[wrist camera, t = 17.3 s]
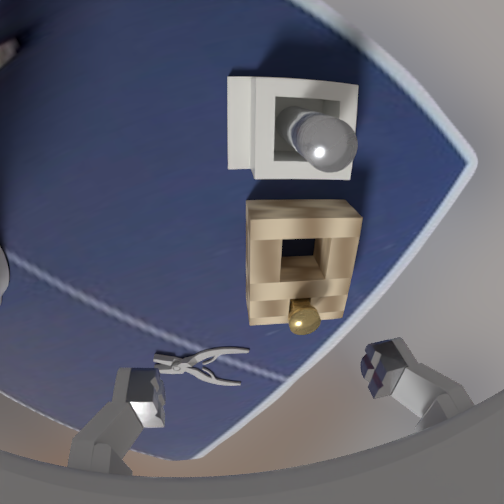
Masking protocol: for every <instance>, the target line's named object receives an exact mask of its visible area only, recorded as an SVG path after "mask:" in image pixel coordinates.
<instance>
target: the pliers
mask: <svg viewBox="0 0 504 504" xmlns="http://www.w3.org/2000/svg"><path fill="white" fill-rule="evenodd" d="M230 353H249V349H244V348H236V347H223V348H214V349H209V350H205V351H202V352H199V353H197V354H195V355H193V356H190V357H185V358H184V359H181V358H178V357H173V356H166V355H160V354H155V355H154V360H153V361H154V362H158V363H161V364H158V365H155V366H154V368H158V369H159V372H160V373H168V374H181V373H184V371H186V372H188V373H191V374H193V375H194V376H196V377H197V378H199V379H201V380H203V381H206V382H209V383H213V384H218V385H229V386H233V385H240V384H241V382H235V381H227V380H222V379H217V378H216V377H215V376H214V374H213V373H212V372H211V371H210V370H208V369H206V368H204V367H203V368H202V370H204V371H206V372H208V373H209V374H210V375H211V376H208V375H206V374H204V373H203V372H201V371H200V370H198V369H196V368H192V366H194V365H195V364H196V363H197V362H199V361H201V360H204V359H206V358H208V357H211V356H214V357H213V358H212V359H210V360H208V361H205V362H203V365H205V364H208V363H211V362H212V361H214V360H215V359H216V358H217V357H218V356H219V355H222V354H230Z"/></svg>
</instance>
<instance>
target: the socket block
mask: <svg viewBox="0 0 504 504" xmlns="http://www.w3.org/2000/svg"><path fill="white" fill-rule="evenodd" d="M362 219H363V218H362V217H361V215H360V214H359V213H358V212H357V211H356V210H355V209H354V208H353V207H352V206H351V205H350V204H349V203H348V202H347V201H346V200H337V199H291V200H246V301H247V309H248V316H249V324H250V325H265V324H280V323H289V322H288V316H289V313H290V309H289V304H290V299H299V298H308V299H309V302H310V305H311V306H313V307H315V308H316V309H317V311H318V314H319V316H320V319H321V320H326V319H336V318H342V317H343V313H344V308H345V304H346V300H347V296H348V291H349V287H350V282H351V277H352V273H353V268H354V263H355V258H356V253H357V248H358V242H359V237H360V231H361V225H362ZM308 238H315V245H314V253H313V255H312V256H290V257H281V254H282V239H308Z"/></svg>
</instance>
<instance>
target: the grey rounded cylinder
mask: <svg viewBox="0 0 504 504" xmlns="http://www.w3.org/2000/svg"><path fill="white" fill-rule="evenodd" d="M276 129H277V132H278V134H279V135H280V136H281V137H282V138H283V139H284V140H285V141H286V142H287V143H288V144H289V145H291V146H292V147H293V148H294V149H295V150H296V151H297V152H298V153H299V154H300V155H301V156H303V157H304V158H305V159H306V160H307V161H308V162H309V163H310V164H311V165H312V166H313V167H315V168H316V169H318V170H320V171H322V172H327V173H333V172H338V171H340V170H343V169H344V168H346V167H347V166H348V165H349V164H350V163H351V162H352V161H353V159H354V157H355V155H356V152H357V145H358V144H357V137H356V134H355V132H354V130H353V129H352V127H351V126H350V125H349V124H347V123H346V122H345V121H343V120H341V119H338V118H335V117H332V116H329V115H325V114H322V113H319V112H316V111H312V110H309V109H306V108H302V107H298V106H290V107H287V108H285V109H283V110H282V111H281V112H280V113H279V114H278V116H277V119H276Z"/></svg>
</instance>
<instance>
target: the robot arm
mask: <svg viewBox="0 0 504 504" xmlns="http://www.w3.org/2000/svg"><path fill="white" fill-rule="evenodd" d="M8 283H9V269H8V264H7V261H6V258H5V255H4V253H3V251H2V249H1V247H0V305H1V300H2V294H3V293H4V292H5V290H6V289H7V287H8ZM365 352H366V355H365V356H364V357H363V358H362V361H361V372H362V375H363V377H364V379H365V380H367V381H368V382H369V386H368V388H369V390H370V392H371V394H372V396H373V398H374V399H376V398H380V397H384V396H388V395H392V397H394V398H395V399H396V400H398V401H399V402H400V403H401V404H403V405H404V406H405V407H407V408H408V409H409V410H410V411H412V412H413V413H414V414H416V415H417V416H418V417H420V418H421V420H420V421H419V422H418V424H417V425H416V426H415V431H416V433H414V434H411V435H408V436H406V437H403V438H401V439H398V440H395V441H392V442H389V443H386V444H383V445H380V446H377V447H374V448H371V449H367V450H364V451H361V452H357V453H354V454H350V455H346V456H342V457H339V458H334V459H331V460H326V461H322V462H317V463H313V464H308V465H303V466H298V467H292V468H286V469H280V470H273V471H267V472H259V473H250V474H240V475H229V476H214V477H190V478H189V477H185V478H184V477H183V478H182V477H181V478H180V477H172V478H171V477H144V476H132V470H131V469H130V468H129V467H128V466H127V465H126V464H125V463H124V461H123V460H122V459H123V457H124V456H125V454H126V453H127V452H128V450H129V449H130V447H131V446H132V444H133V443H134V442H135V440H136V439H137V437H138V436H139V434H140V433H141V432H142V430H143V428H145V427H164V424H165V412H164V409H163V406H164V404H165V399H166V396H165V387H164V383H163V381H162V380H161V379H160V372H159V369H158V368H119V370H118V372H117V377H116V382H115V387H114V392H113V398H112V402H108V403H107V404H106V405H105V406H104V407H103V408H102V409H101V410H100V411H99V412H98V413H97V414H96V415H95V416H94V417H93V418H92V419H91V420H90V421H89V422H88V423H87V424H86V425H85V426H84V428H83V429H82V430H81V431H80V432H79V433H78V434H77V435H76V436H75V437H74V438H73V439H72V444H71V450H70V455H69V460H68V466H67V467H64V466H59V465H54V464H50V463H45V462H40V461H37V460H33V459H29V458H25V457H22V456H18V455H15V454H12V453H9V452H5V451H2V450H0V504H504V390H502V391H500V392H499V393H497V394H495V395H494V396H492V397H490V398H488V399H486V400H485V401H483V402H481V403H479V404H477V405H474V403H473V402H472V400H471V399H470V397H469V395H468V394H467V393H466V391H465V389H464V388H463V386H462V385H460V384H459V383H457V382H455V381H453V380H451V379H450V378H448V377H446V376H444V375H442V374H441V373H438V372H437V371H435V370H433V369H431V368H430V367H428V366H426V365H424V364H422V363H418V362H417V360H416V359H415V357H414V356H413V354H412V353H411V351H410V350H409V348H408V347H407V345H406V343H405V342H404V340H403V339H402V338H400V337H398V338H394V339H390V340H384V341H380V342H375V343H371V344H368V345H367V346H366V349H365Z"/></svg>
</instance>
